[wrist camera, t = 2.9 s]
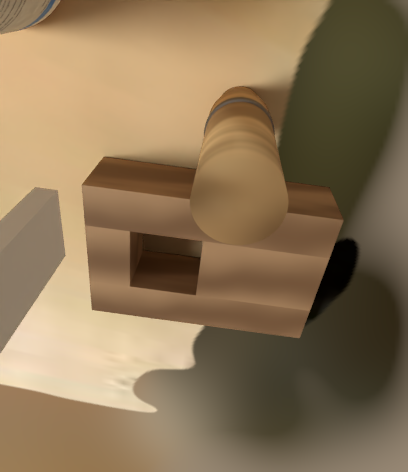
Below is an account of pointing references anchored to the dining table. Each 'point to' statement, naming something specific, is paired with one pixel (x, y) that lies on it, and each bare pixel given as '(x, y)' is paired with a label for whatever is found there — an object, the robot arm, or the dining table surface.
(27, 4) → the supplement tub
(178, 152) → the dining table surface
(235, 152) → the peg
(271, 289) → the seat block
